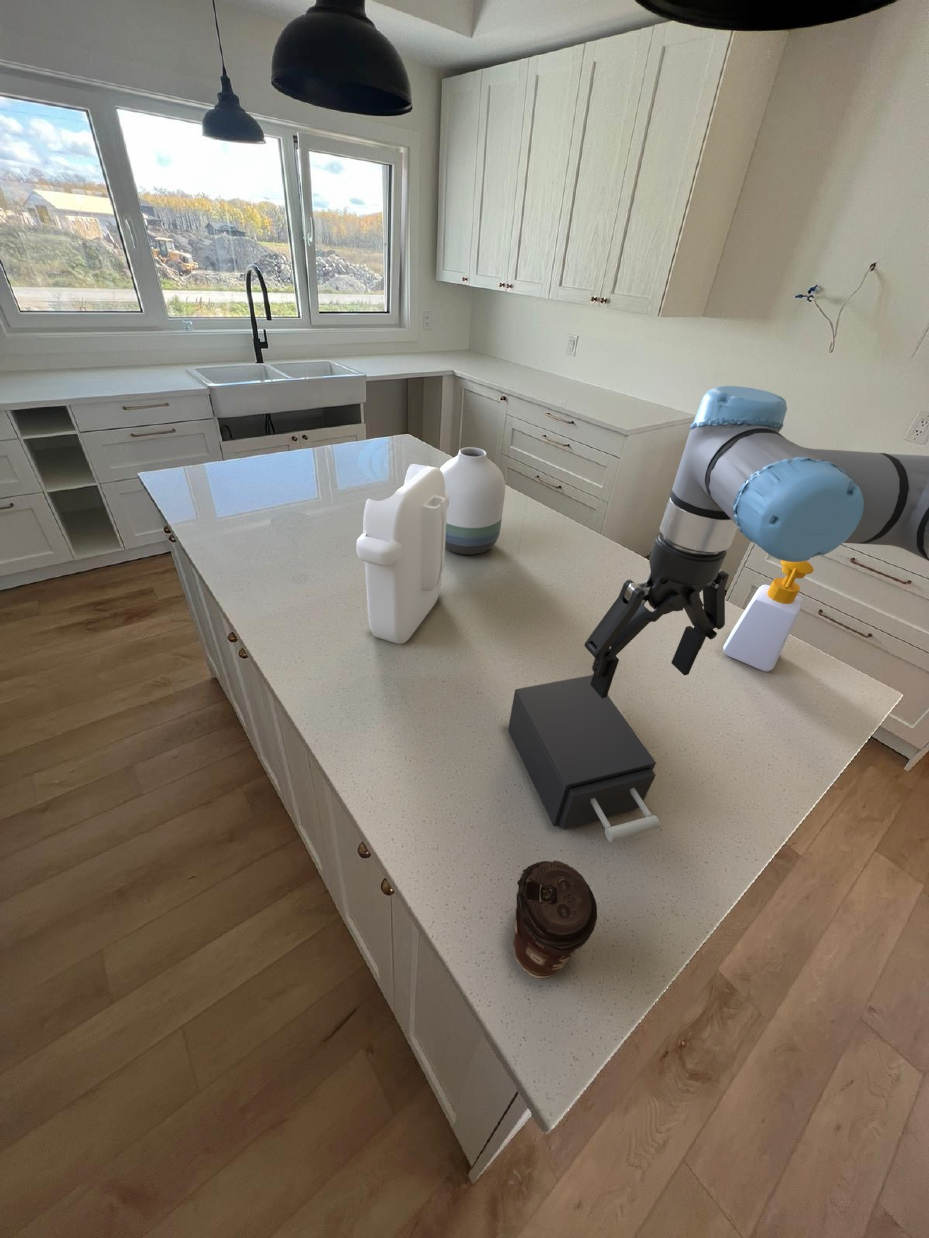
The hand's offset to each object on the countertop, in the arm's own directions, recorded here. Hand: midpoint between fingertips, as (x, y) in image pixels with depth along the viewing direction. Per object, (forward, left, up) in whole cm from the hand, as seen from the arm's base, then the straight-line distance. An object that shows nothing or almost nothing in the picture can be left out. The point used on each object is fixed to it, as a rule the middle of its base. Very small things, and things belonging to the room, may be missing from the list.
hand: (640, 679), depth 70 cm
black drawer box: (+1, +6, -18) cm, 19 cm away
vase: (+70, +1, -18) cm, 73 cm away
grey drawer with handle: (-3, +6, -17) cm, 19 cm away
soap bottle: (+15, -41, -18) cm, 47 cm away
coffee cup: (-21, +21, -18) cm, 35 cm away
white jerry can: (+43, +21, -18) cm, 52 cm away
